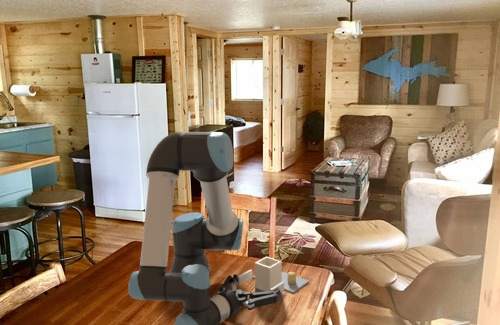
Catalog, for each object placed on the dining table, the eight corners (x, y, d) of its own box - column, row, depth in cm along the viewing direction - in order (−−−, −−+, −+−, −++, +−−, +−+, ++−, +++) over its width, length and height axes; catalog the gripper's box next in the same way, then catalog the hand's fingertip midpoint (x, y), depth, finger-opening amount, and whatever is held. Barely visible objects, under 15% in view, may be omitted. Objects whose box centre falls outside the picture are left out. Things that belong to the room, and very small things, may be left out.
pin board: (252, 279, 153) (252, 267, 153) (269, 269, 161) (269, 258, 160) (293, 295, 142) (293, 282, 141) (308, 283, 149) (309, 271, 148)
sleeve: (255, 295, 141) (254, 262, 138) (266, 288, 146) (266, 256, 143) (270, 301, 137) (269, 268, 134) (281, 294, 142) (281, 261, 139)
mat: (250, 295, 142) (250, 294, 142) (263, 287, 147) (263, 286, 147) (273, 305, 136) (273, 304, 135) (286, 297, 141) (286, 295, 141)
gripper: (194, 303, 132) (239, 278, 147) (254, 333, 116) (297, 302, 131) (193, 281, 130) (238, 258, 146) (254, 309, 114) (297, 280, 130)
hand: (266, 279), depth 139 cm, fingers open, 13 cm apart
